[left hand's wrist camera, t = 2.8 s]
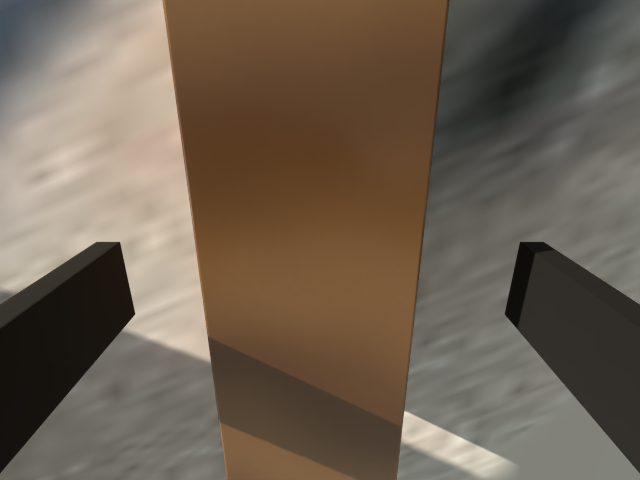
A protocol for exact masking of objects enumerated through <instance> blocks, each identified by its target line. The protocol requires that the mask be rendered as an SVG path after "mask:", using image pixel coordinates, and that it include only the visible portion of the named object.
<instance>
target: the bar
mask: <svg viewBox="0 0 640 480" xmlns="http://www.w3.org/2000/svg"><path fill="white" fill-rule="evenodd" d="M163 7H164V14H165V22H166V29H167V37H168V44H169V52H170V59H171V67H172V74H173V81H174V89H175V96H176V104H177V111H178V119H179V126H180V134H181V141H182V148H183V156H184V163H185V171H186V178H187V186H188V193H189V201H190V208H191V216H192V223H193V230H194V238H195V245H196V253H197V260H198V268H199V275H200V283H201V290H202V297H203V305H204V312H205V320H206V327H207V335H208V342H209V350H210V357H211V365H212V372H213V379H214V387H215V394H216V402H217V409H218V417H219V424H220V432H221V439H222V446H223V454H224V461H225V469H226V476H227V480H397V471H398V462H399V453H400V443H401V434H402V425H403V416H404V407H405V398H406V389H407V380H408V371H409V362H410V353H411V344H412V335H413V326H414V317H415V308H416V299H417V290H418V281H419V271H420V262H421V253H422V244H423V235H424V226H425V217H426V208H427V199H428V190H429V181H430V172H431V163H432V154H433V145H434V136H435V127H436V118H437V109H438V99H439V90H440V81H441V72H442V63H443V54H444V45H445V36H446V27H447V18H448V9H449V0H163Z"/></svg>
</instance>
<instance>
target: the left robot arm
mask: <svg viewBox="0 0 640 480" xmlns="http://www.w3.org/2000/svg"><path fill="white" fill-rule="evenodd" d="M134 315H135V311H134V306H133V301H132V297H131V292H130V287H129V283H128V278H127V273H126V268H125V264H124V259H123V254H122V250H121V245H120V242H96V243H94V244H93V245H91V246H90V247H88V248H87V249H85V250H84V251H82V252H80V253H79V254H77V255H76V256H74V257H73V258H71V259H70V260H68V261H67V262H65V263H64V264H62V265H60V266H59V267H57V268H56V269H54V270H53V271H51V272H50V273H48V274H47V275H45V276H44V277H42V278H40V279H39V280H37V281H36V282H34V283H33V284H31V285H30V286H28V287H27V288H25V289H24V290H22V291H21V292H19V293H17V294H16V295H14V296H13V297H11V298H10V299H8V300H7V301H5V302H4V303H2V304H1V305H0V473H1V472H2V470H3V469H4V468H5V467H6V466H7V465H8V463H9V462H10V461H11V460H12V459H13V458H14V456H15V455H16V454H17V453H18V452H19V450H20V449H21V448H22V447H23V446H24V445H25V443H26V442H27V441H28V440H29V439H30V438H31V436H32V435H33V434H34V433H35V432H36V430H37V429H38V428H39V427H40V426H41V425H42V423H43V422H44V421H45V420H46V419H47V418H48V416H49V415H50V414H51V413H52V412H53V410H54V409H55V408H56V407H57V406H58V405H59V403H60V402H61V401H62V400H63V399H64V397H65V396H66V395H67V394H68V393H69V392H70V390H71V389H72V388H73V387H74V386H75V385H76V383H77V382H78V381H79V380H80V379H81V377H82V376H83V375H84V374H85V373H86V372H87V370H88V369H89V368H90V367H91V366H92V365H93V363H94V362H95V361H96V360H97V359H98V357H99V356H100V355H101V354H102V353H103V352H104V350H105V349H106V348H107V347H108V346H109V345H110V343H111V342H112V341H113V340H114V339H115V337H116V336H117V335H118V334H119V333H120V332H121V330H122V329H123V328H124V327H125V326H126V324H127V323H128V322H129V321H130V320H131V319H132V317H133V316H134ZM505 315H506V316H507V317H508V319H509V320H510V321H511V322H512V323H513V324H514V326H515V327H516V328H517V329H518V330H519V332H520V333H521V334H522V335H523V336H524V337H525V339H526V340H527V341H528V342H529V343H530V345H531V346H532V347H533V348H534V349H535V350H536V352H537V353H538V354H539V355H540V356H541V357H542V359H543V360H544V361H545V362H546V363H547V365H548V366H549V367H550V368H551V369H552V370H553V372H554V373H555V374H556V375H557V376H558V377H559V379H560V380H561V381H562V382H563V383H564V385H565V386H566V387H567V388H568V389H569V390H570V392H571V393H572V394H573V395H574V396H575V397H576V399H577V400H578V401H579V402H580V403H581V405H582V406H583V407H584V408H585V409H586V410H587V412H588V413H589V414H590V415H591V416H592V418H593V419H594V420H595V421H596V422H597V423H598V425H599V426H600V427H601V428H602V429H603V430H604V432H605V433H606V434H607V435H608V436H609V438H610V439H611V440H612V441H613V442H614V443H615V444H616V446H617V447H618V448H619V449H620V450H621V452H622V453H623V454H624V455H625V456H626V458H627V459H628V460H629V461H630V462H631V463H632V465H633V466H634V467H635V468H636V469H637V470H638V472H639V473H640V305H639V304H638V303H636V302H635V301H633V300H632V299H630V298H629V297H627V296H626V295H624V294H623V293H621V292H619V291H618V290H616V289H615V288H613V287H612V286H610V285H609V284H607V283H606V282H604V281H603V280H601V279H600V278H598V277H596V276H595V275H593V274H592V273H590V272H589V271H587V270H586V269H584V268H583V267H581V266H580V265H578V264H576V263H575V262H573V261H572V260H570V259H569V258H567V257H566V256H564V255H563V254H561V253H560V252H558V251H556V250H555V249H553V248H552V247H550V246H549V245H547V244H546V243H544V242H520V245H519V250H518V254H517V259H516V264H515V268H514V273H513V278H512V283H511V287H510V292H509V297H508V301H507V306H506V311H505Z"/></svg>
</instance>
